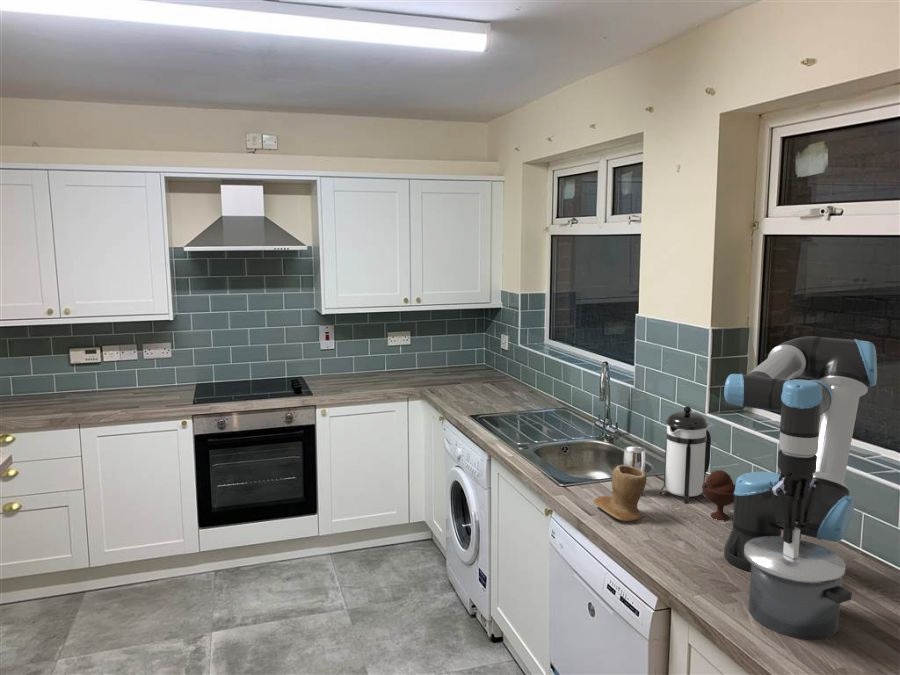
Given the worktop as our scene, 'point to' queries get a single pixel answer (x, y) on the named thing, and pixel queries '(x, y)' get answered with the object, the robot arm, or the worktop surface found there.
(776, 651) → the worktop surface
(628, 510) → the tan flared hollow piece
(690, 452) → the coffee press
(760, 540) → the pot lid
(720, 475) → the ice cream bowl
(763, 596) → the pressure cooker pot
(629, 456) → the silver metal cylinder
